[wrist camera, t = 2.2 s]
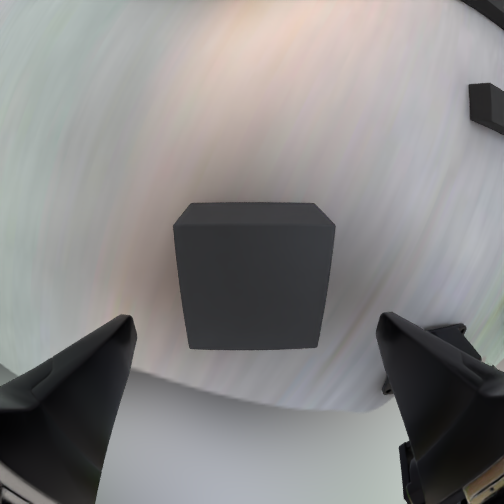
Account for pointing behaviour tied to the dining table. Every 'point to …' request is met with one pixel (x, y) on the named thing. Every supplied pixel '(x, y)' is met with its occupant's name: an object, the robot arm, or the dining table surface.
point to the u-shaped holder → (486, 94)
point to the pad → (253, 274)
